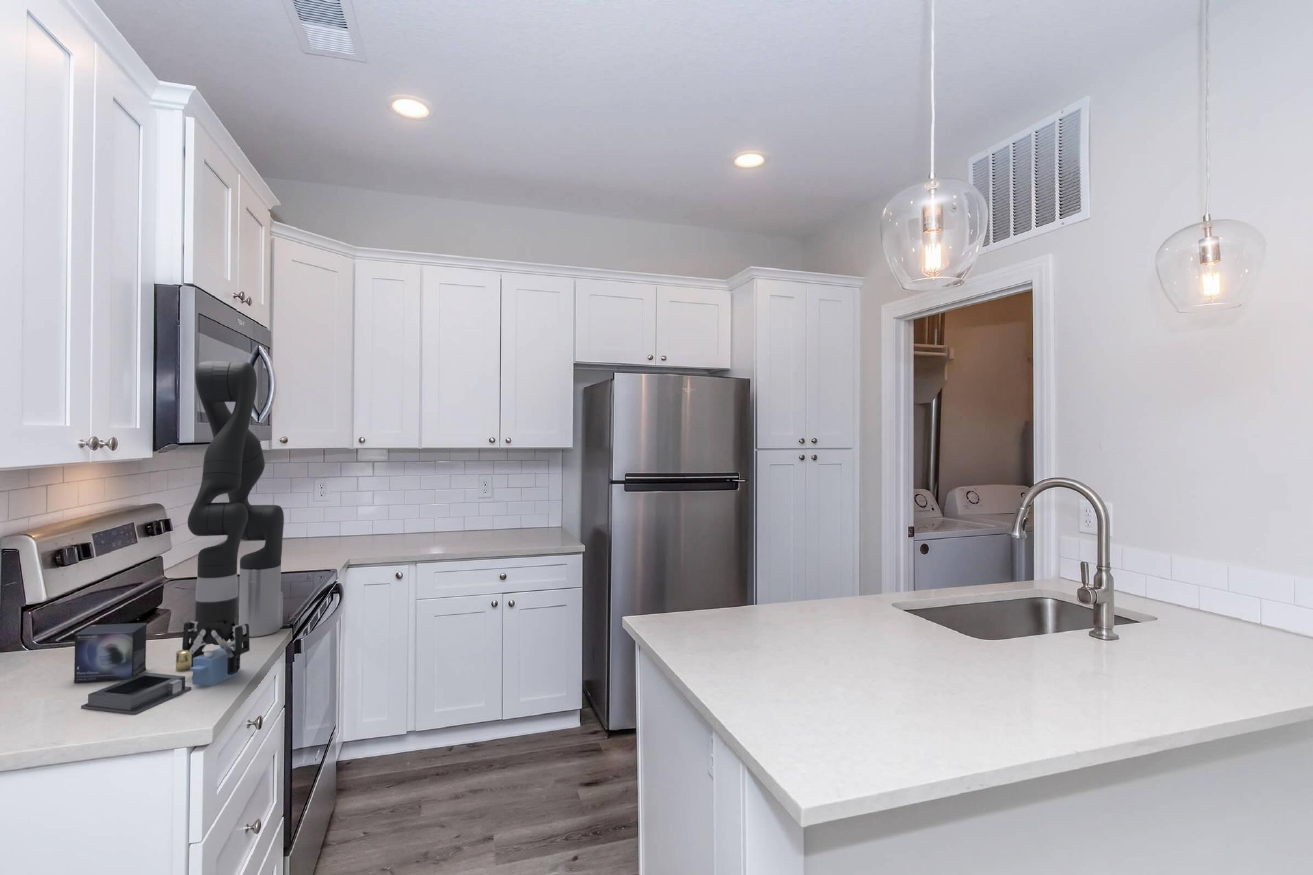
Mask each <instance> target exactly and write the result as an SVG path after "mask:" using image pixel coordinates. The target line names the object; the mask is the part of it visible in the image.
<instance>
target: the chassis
mask: <svg viewBox="0 0 1313 875" xmlns="http://www.w3.org/2000/svg"><path fill="white" fill-rule="evenodd" d="M191 690H192V687H191V686H186V675H185V676H184V675H176V674H167V673H158V672H157V673H156V672H148V671H145V672H142V673H140V674H139V675H137V676H134V677H132V678H129V679H127V680H120V682H116V683H114V684H112V685H108V686H106V687H104V688H101V689H98V690H96V691H93V692H91V693H89V694H87V703H85V704H81V705H80V710H81V709H83V710H91V711H99V712H108V713H109V712H110V713H115V714H116V713H117V714H123V715H124V714H126V715H133V716H134V715H137V714H140V713H142V712H144V711H147V710H149V709H151V708H154V707H155V706H157V705H160V704H162V703H164V702H166V701H169V700H170V699H174V698H177V697H178V696H180V695H182V694H184V693H187V692H189V691H191Z"/></svg>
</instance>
